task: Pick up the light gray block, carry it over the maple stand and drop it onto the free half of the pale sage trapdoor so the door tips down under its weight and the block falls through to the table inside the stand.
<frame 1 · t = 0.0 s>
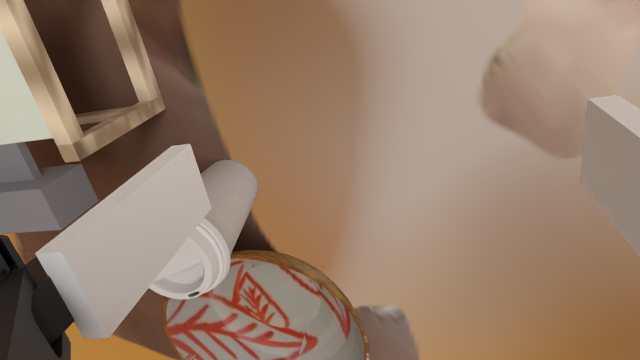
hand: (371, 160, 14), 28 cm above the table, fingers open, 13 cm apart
maple stand: (75, 45, 45), on the table
coffee cup: (232, 183, 50), on the table
bowl: (280, 294, 56), on the table
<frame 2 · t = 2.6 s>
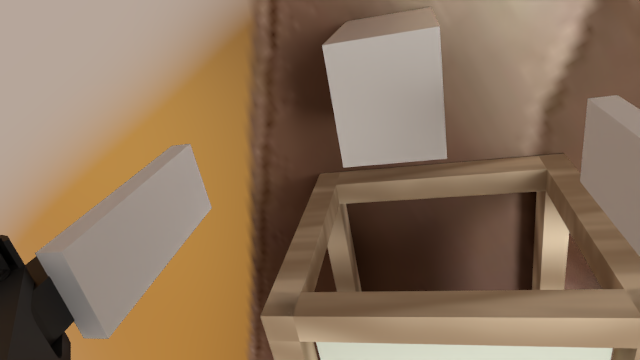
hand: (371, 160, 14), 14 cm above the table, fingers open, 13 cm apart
maple stand: (440, 258, 32), on the table
light gray block: (393, 65, 26), on the table
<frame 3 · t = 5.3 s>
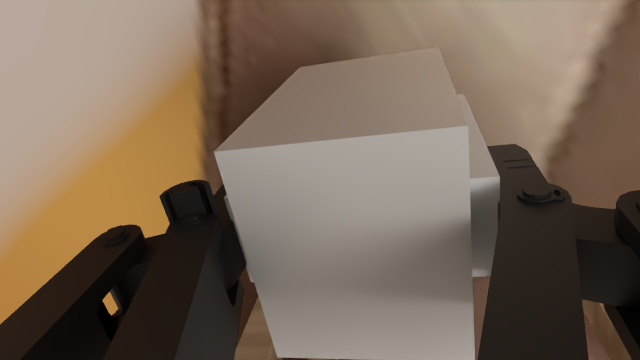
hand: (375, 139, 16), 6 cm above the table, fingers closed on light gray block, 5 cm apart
maple stand: (428, 323, 28), on the table
light gray block: (376, 135, 16), point 6 cm above the table, touching gripper
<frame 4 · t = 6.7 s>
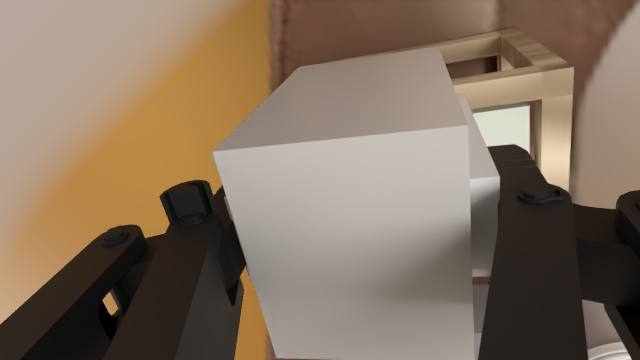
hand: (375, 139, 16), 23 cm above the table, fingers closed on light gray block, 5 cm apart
trapdoor: (436, 247, 30), point 13 cm above the table, hinge at 0.0°
maple stand: (425, 132, 40), on the table
coffee cup: (570, 274, 44), on the table
light gray block: (376, 135, 16), point 23 cm above the table, touching gripper
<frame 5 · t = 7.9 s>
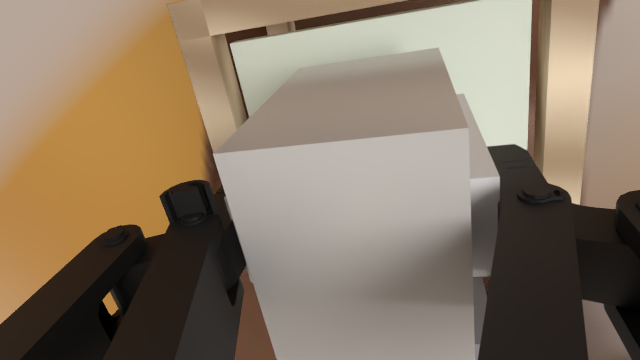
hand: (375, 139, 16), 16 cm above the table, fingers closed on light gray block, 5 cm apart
trapdoor: (393, 221, 21), point 13 cm above the table, hinge at 0.0°
maple stand: (393, 83, 31), on the table
coffee cup: (570, 270, 36), on the table
light gray block: (376, 136, 16), point 16 cm above the table, touching gripper
when the fingers open (16 cm above the table, at t = 8.2 s): light gray block drops 7 cm, resting on trapdoor.
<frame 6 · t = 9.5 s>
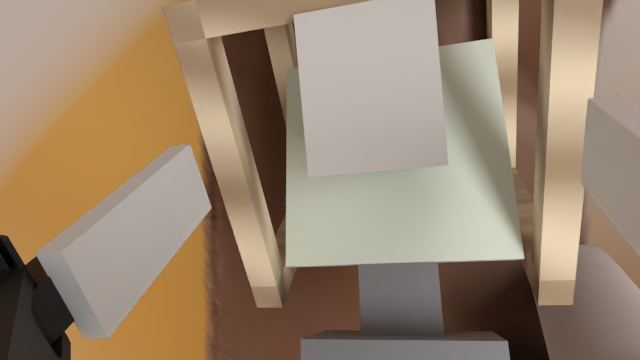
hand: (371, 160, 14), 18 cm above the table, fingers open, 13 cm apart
trapdoor: (395, 220, 22), point 12 cm above the table, hinge at -41.8°, touching light gray block
maple stand: (392, 85, 31), on the table
coffee cup: (571, 274, 35), on the table
light gray block: (386, 112, 23), point 9 cm above the table, tilted 24°, touching trapdoor
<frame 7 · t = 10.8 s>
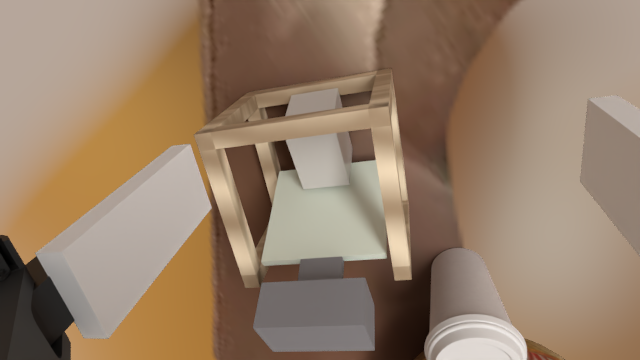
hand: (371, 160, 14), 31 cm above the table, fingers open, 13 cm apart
trapdoor: (324, 239, 41), point 11 cm above the table, hinge at -68.1°
maple stand: (330, 149, 48), on the table
coffee cup: (457, 268, 53), on the table
light gray block: (328, 168, 46), point 3 cm above the table, tilted 73°, touching maple stand
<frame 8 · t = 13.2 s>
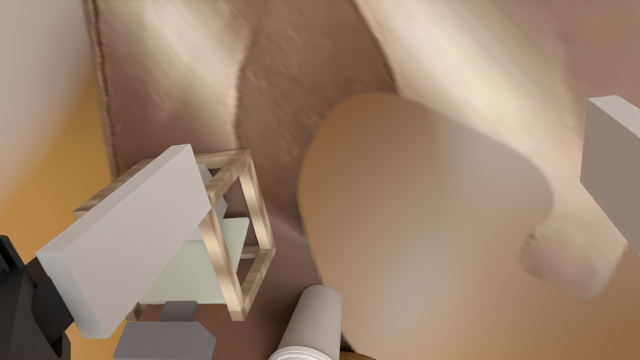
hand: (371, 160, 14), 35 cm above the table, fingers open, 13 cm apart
trapdoor: (187, 285, 52), point 11 cm above the table, hinge at -68.1°
maple stand: (211, 205, 60), on the table
coffee cup: (322, 300, 64), on the table
light gray block: (205, 222, 58), point 3 cm above the table, tilted 73°, touching maple stand
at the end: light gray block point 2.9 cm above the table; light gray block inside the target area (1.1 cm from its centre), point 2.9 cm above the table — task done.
